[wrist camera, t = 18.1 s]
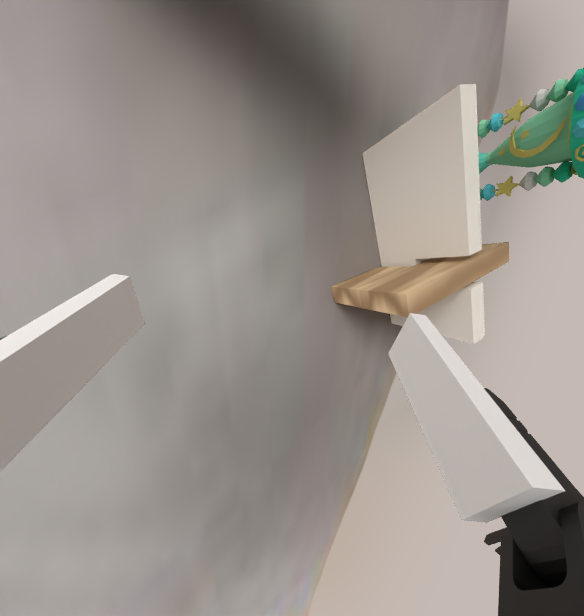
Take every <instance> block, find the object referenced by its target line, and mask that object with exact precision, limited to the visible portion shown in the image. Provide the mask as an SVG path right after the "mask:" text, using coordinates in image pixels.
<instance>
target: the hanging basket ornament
mask: <svg viewBox="0 0 584 616" xmlns="http://www.w3.org/2000/svg"><path fill="white" fill-rule="evenodd" d="M568 91H571V92H573V93H571V94H570V95H568V96H567V94H568ZM550 100H552V101H554V102H556V103H555V104H553V105H552V106H550V107H548V108H547V109H545V110H543V111H542V109H544V108H545V107H546V106H547V105H548V103H549V101H550ZM529 107H531V108H533V109H535V110H537V111H542V112H540V113H539V114H537V115H535V116H534V117H532V118H530V119H529V120H528V121H527V122H525V123H524V124H523V125H522V126H521V127H520V128H519V129H518V130H516V131H515V129H516V126H515V128H514V129H513V131H512V133H511V136H510V137H509V138H508V139H506V141H504V142H503V143H502V144H501V145H500V146H499V147H497V148H496V149H495V150H494V151H493V152H491V153H489V154H486V153H478V158H479V174H480V173H481V172H482V171H483V170H484V169H486V168H487V167H488V166H489V165H492V164H499V165H510V166H520V167H536V166H542V165H548V164H554V163H561V162H563V163H562V164H561V165H560V166H559V167H558V168H557V169H556V170H554V168H552V167H545V168H544V169H543V170H542V171H541V172H540V173H539V175H537V174H536V173H534V172H528V173H527V174H526V175H525V177H524V178H523V179H522V180H521V181H520V183H519V184H516V183H512V179H513V178H512V176H510V177H509V178H508V180H507V181H506V182H505V183H500V184H497V185H498V187H499V188H500V189H497V190H495V187H494V186H493V185H491V184H488V185H486V186H485V187H484V189H483V190H482V189H480V200H481V199H482V198H484V199H485V200H487V201H488V200H490V199H491V198H492V197H493V196H494V195H495V191H498V190H499V191H498V192H497V193H496V195H495V196H498V195H501V194H503V193H505V194H506V195H507V196H510V194H511V190H512V189H513V188H514V187H516V186H518V185H520V186H521V187H523V188H524V189H526V190H527V191H529V190H531V189H532V188H533V187H535V186H536V184H537V183H539V184H540V185H542V186H543V187H545V186H547V185H548V184H550V183H551V182H553V180H554V178H555V179H557V180H559V181H560V182H564V181H566V180H567V179H569V178H570V177H571V176H572V174H575V175H578V176H579V177H581V178H584V68H583V69H578V70H577V72H576V73H575V75H574V76H573V77H572V79H571V80H570V81H569V82H568V80H567V79H562V80H558V81H557V82H556V83H555V85H554V86H553V88H552V89H551V91H550V92H549V90H548V89H542V90H539V91H538V92H537V94H536V96H535V97H534V99H533V100H532V102H531V103H530V105H526V106H522V99H520V100H519V101H518V103H517V104H516V105H515V107H514V108H512V109H509V110H506V111H505V112H506V113H507V114H508V116H506V117H504V118H503V115H502V114H501V113H495V114H493V116H492V118H491V120H490V122H489V121H488V120H481V122H480V123H479V125H478V127H477V130H478V136H480V137H482V138H483V137H485V136H486V135H487V134H488V133H489V131H490V130H492V131H494V132H496V131H498V130H499V129H500V128H501V126H502V125H503V121H504V119H505V118H507V119H506V120H505V122H504V125H506V124H507V123H509V122H510V121H512V120H513V119H515V120H516V121H518V122H520V118H521V114H522V113H523V112H524V111H525V110H526V109H528V108H529ZM568 161H572V162H568ZM575 170H576V171H575Z"/></svg>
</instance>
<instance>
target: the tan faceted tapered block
mask: <svg viewBox="0 0 584 616" xmlns="http://www.w3.org/2000/svg"><path fill="white" fill-rule="evenodd" d="M508 261H509V242H503V243H493V244H483V245H482V250H480V251H478V252H476V253H474V254H472V255H469V256H456V257H440V258H427V260H425V261H423V262H421V263H418V264H416V265H414V266H397V267H377V268H374V269H372V270H370V271H367V272H365V273H363V274H360V275H358V276H355V277H353V278H351V279H348V280H346V281H344V282H341V283H339V284H336V285H334V286H332V287H331V289H332V293H333V297H334V301H335V303H340V304H345V305H350V306H355V307H359V308H364V309H369V310H374V311H378V312H383V313H388V314H393V315H398V316H402V317H407V318H408V316H409V314H410V313H413V314H417V313H419V312H421V311H423V310H424V309H426V308H428V307H430V306H431V305H433V304H435V303H437V302H438V301H440V300H442V299H444V298H445V297H447V296H449V295H451V294H452V293H454V292H456V291H458V290H459V289H461V288H463V287H465V286H467V285H468V284H470V283H472V282H474V281H475V280H477V279H479V278H481V277H482V276H484V275H486V274H488V273H489V272H491V271H493V270H495V269H496V268H498V267H500V266H502V265H503V264H505V263H507V262H508Z"/></svg>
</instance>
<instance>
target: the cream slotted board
mask: <svg viewBox="0 0 584 616" xmlns="http://www.w3.org/2000/svg"><path fill="white" fill-rule="evenodd" d="M362 155H363V160H364V166H365V172H366V178H367V184H368V190H369V195H370V201H371V207H372V213H373V219H374V224H375V230H376V236H377V242H378V248H379V254H380V259H381V265H382V267H397V266H414V265H416V264H418V263H421V262H423V261H425V260H427V258H440V257H456V256H469V255H472V254H474V253H476V252H478V251H480V250H482V242H481V215H480V186H479V158H478V130H477V102H476V84H463V85H459V86H457V87H456V88H454V89H453V90H452V91H450V92H449V93H447V94H446V95H444V96H443V97H442V98H440V99H439V100H437V101H436V102H435V103H433V104H432V105H430V106H429V107H427V108H426V109H425V110H423V111H422V112H420V113H419V114H417V115H416V116H415V117H413V118H412V119H410V120H409V121H408V122H406V123H405V124H403V125H402V126H400V127H399V128H398V129H396V130H395V131H393V132H392V133H391V134H389V135H388V136H386V137H385V138H383V139H382V140H381V141H379V142H378V143H376V144H375V145H373V146H372V147H371V148H369V149H368V150H366V151H365V152H364V153H362ZM417 314H420V315H426V316H427V318H428V319H429V320H430V321H431V323H432V324H433V325H434V326H435V328H436V329H437V330H438V331H439V333H440V334H441V335H442V336H443V337H447V338H450V339H454V340H459V341H463V342H466V343H470V344H475V343H476V342H478V341H479V340H480V339H482V338H483V337H484V336H485V327H484V298H483V282H472V283H470V284H468V285H467V286H465V287H463V288H461V289H459V290H458V291H456V292H454V293H452V294H451V295H449V296H447V297H445V298H444V299H442V300H440V301H438V302H437V303H435V304H433V305H431V306H430V307H428V308H426V309H424V310H423V311H421V312H419V313H417ZM390 318H391V323H392V324H396V325H400V326H403V325H404V323H405V322H406V320H407V317H402V316H398V315H393V314H390Z"/></svg>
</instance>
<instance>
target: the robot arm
mask: <svg viewBox="0 0 584 616" xmlns="http://www.w3.org/2000/svg"><path fill="white" fill-rule="evenodd" d="M144 324H145V321H144V318H143V315H142V312H141V308H140V305H139V302H138V299H137V296H136V293H135V290H134V287H133V284H132V281H131V278H130V276H124V275H116V274H112V275H110V276H108V277H107V278H105V279H103V280H102V281H100V282H98V283H97V284H95V285H93V286H91V287H90V288H88V289H86V290H85V291H83V292H81V293H80V294H78V295H76V296H74V297H73V298H71V299H69V300H68V301H66V302H64V303H63V304H61V305H59V306H57V307H56V308H54V309H52V310H51V311H49V312H47V313H46V314H44V315H42V316H41V317H39V318H37V319H35V320H34V321H32V322H30V323H29V324H27V325H25V326H24V327H22V328H20V329H18V330H17V331H15V332H13V333H12V334H10V335H8V336H5V337H3V338H0V472H1V471H2V470H3V468H4V467H5V466H6V465H7V464H8V463H9V462H10V461H11V460H12V459H13V458H14V457H15V456H16V455H17V454H18V453H19V452H20V451H21V450H22V449H23V448H24V447H25V446H26V445H27V444H28V443H29V442H30V441H31V440H32V439H33V438H34V437H35V436H36V435H37V434H38V433H39V432H40V431H41V430H42V429H43V428H44V427H45V426H46V425H47V423H48V422H49V421H50V420H51V419H52V418H53V417H54V416H55V415H56V414H57V413H58V412H59V411H60V410H61V409H62V408H63V407H64V406H65V405H66V404H67V403H68V402H69V401H70V400H71V399H72V398H73V397H74V396H75V395H76V394H77V393H78V392H79V391H80V390H81V389H82V388H83V387H84V386H85V385H86V384H87V383H88V382H89V381H90V380H91V378H92V377H93V376H94V375H95V374H96V373H97V372H98V371H99V370H100V369H101V368H102V367H103V366H104V365H105V364H106V363H107V362H108V361H109V360H110V359H111V358H112V357H113V356H114V355H115V354H116V353H117V352H118V351H119V350H120V349H121V348H122V347H123V346H124V345H125V344H126V343H127V342H128V341H129V340H130V339H131V338H132V337H133V336H134V334H135V333H136V332H137V331H138V330H139V329H140V328H141V327H142V326H143V325H144ZM388 354H389V356H390V359H391V361H392V363H393V366H394V368H395V370H396V372H397V375H398V376H399V379H400V381H401V383H402V386H403V388H404V390H405V393H406V395H407V397H408V399H409V402H410V404H411V406H412V409H413V411H414V413H415V415H416V418H417V420H418V422H419V424H420V427H421V429H422V431H423V433H424V436H425V438H426V440H427V442H428V445H429V447H430V449H431V452H432V454H433V456H434V458H435V461H436V463H437V465H438V467H439V470H440V472H441V474H442V476H443V479H444V481H445V483H446V485H447V488H448V490H449V492H450V495H451V497H452V499H453V501H454V504H455V506H456V508H457V510H458V513H459V515H460V517H461V520H467V521H477V522H489V521H491V520H494V519H497V518H499V517H502V519H503V521H504V522H505V524H506V526H507V528H504V529H501V530H498V531H495V532H492V533H490V534H488V535H486V538H485V540H484V542H485V543H486V544H488V545H491V544H495V543H498V542H501V546H500V547H498V548H497V549H496V550H495V551H496V552H497V553H498V554H499V555H500V580H499V606H498V616H584V497H583V496H582V495H581V494H580V493H579V492H578V490H577V489H576V488H575V487H574V486H573V485H572V484H571V482H570V481H569V480H568V479H567V478H566V476H565V475H564V474H563V473H562V471H561V470H560V469H559V468H558V467H557V466H556V464H555V463H554V462H553V461H552V459H551V458H550V457H549V456H548V455H547V453H546V452H545V451H544V450H543V449H542V447H541V446H540V445H539V444H538V443H537V441H536V440H535V439H534V438H533V437H532V436H531V434H528V433H527V429H526V428H525V427H524V426H523V425H522V423H521V422H520V421H517V419H516V416H515V415H514V414H513V413H512V411H511V410H510V409H509V408H508V407H507V405H506V404H505V403H504V402H503V401H502V400H501V399H499V398H498V397H497V396H496V395H495V394H494V393H492V392H491V391H490V390H489V389H487V388H483V387H482V386H481V384H480V383H479V382H478V380H477V379H476V378H475V377H474V375H473V374H472V373H471V372H470V370H469V369H468V368H467V367H466V365H465V364H464V363H463V362H462V360H461V359H460V358H459V357H458V355H457V354H456V353H455V352H454V350H453V349H452V348H451V346H450V345H449V344H448V343H447V342H446V340H445V339H444V338H443V336H442V335H441V334H440V333H439V331H438V330H437V329H436V328H435V326H434V325H433V324H432V323H431V321H430V320H429V319H428V318H427V316H426V315H420V314H413V313H410V314H409V316H408V318H407V320H406V322H405V323H404V325H403V327H402V329H401V331H400V333H399V334H398V336H397V338H396V340H395V342H394V344H393V346H392V347H391V349H390V351H389V353H388Z"/></svg>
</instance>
